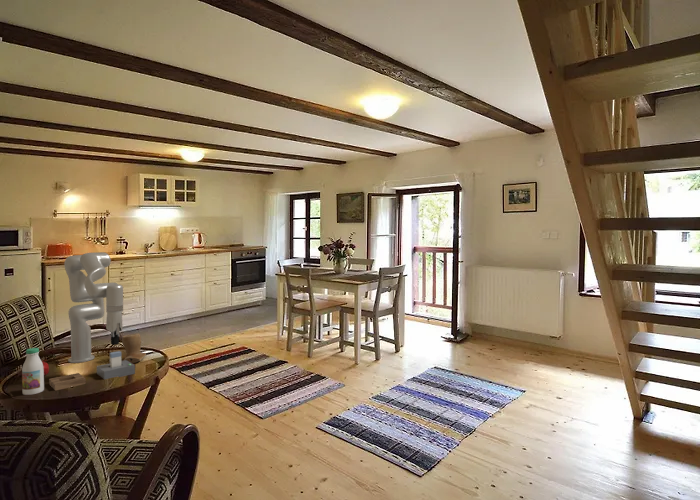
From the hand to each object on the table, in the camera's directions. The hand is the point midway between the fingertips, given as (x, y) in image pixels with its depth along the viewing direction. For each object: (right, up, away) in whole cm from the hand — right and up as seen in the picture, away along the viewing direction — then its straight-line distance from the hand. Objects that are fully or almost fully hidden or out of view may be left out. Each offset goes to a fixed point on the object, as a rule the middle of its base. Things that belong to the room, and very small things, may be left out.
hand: (114, 344), depth 210 cm
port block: (0, -16, 0) cm, 16 cm away
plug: (0, -15, 0) cm, 15 cm away
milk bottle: (-23, -17, -25) cm, 37 cm away
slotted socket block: (-14, -16, -15) cm, 26 cm away
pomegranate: (-38, -16, -3) cm, 41 cm away
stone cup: (-3, -15, +24) cm, 28 cm away
